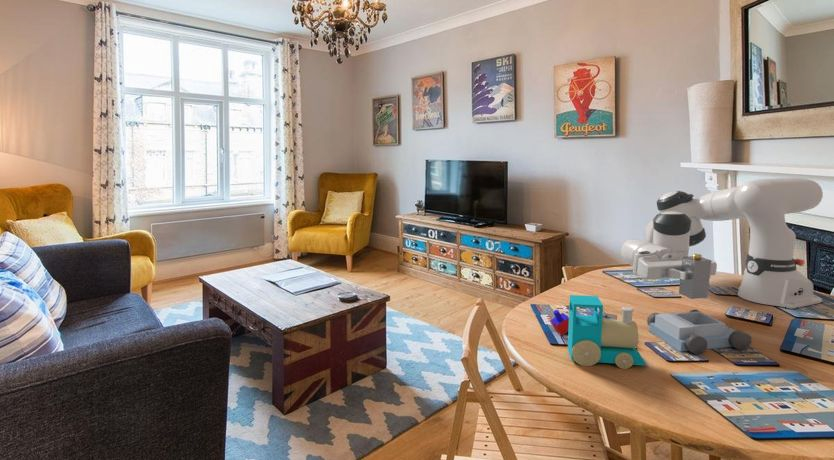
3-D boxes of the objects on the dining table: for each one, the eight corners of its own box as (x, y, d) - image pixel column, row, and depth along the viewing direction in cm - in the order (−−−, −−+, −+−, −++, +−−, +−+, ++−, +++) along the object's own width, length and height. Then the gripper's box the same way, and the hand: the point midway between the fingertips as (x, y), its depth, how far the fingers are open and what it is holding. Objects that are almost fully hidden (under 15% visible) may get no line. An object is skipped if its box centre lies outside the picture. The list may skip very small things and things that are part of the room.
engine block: (694, 292, 115) (698, 252, 113) (707, 297, 111) (711, 256, 109) (678, 293, 115) (682, 253, 113) (691, 298, 110) (695, 257, 108)
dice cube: (593, 335, 117) (594, 318, 116) (596, 328, 121) (597, 311, 120) (613, 339, 115) (614, 321, 114) (616, 332, 119) (617, 314, 118)
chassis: (702, 323, 123) (704, 305, 121) (753, 349, 107) (755, 328, 106) (644, 328, 120) (645, 309, 119) (686, 355, 105) (688, 334, 104)
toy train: (648, 371, 98) (653, 308, 95) (571, 365, 102) (574, 305, 99) (637, 354, 106) (642, 296, 103) (567, 350, 109) (569, 293, 106)
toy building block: (557, 335, 121) (546, 312, 119) (570, 327, 122) (558, 304, 120) (563, 340, 118) (552, 317, 116) (576, 332, 118) (565, 309, 116)
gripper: (693, 270, 126) (732, 285, 113) (628, 274, 124) (660, 290, 110) (695, 249, 125) (735, 261, 111) (629, 253, 123) (662, 266, 109)
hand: (697, 276), depth 111 cm, fingers closed on engine block, 4 cm apart
